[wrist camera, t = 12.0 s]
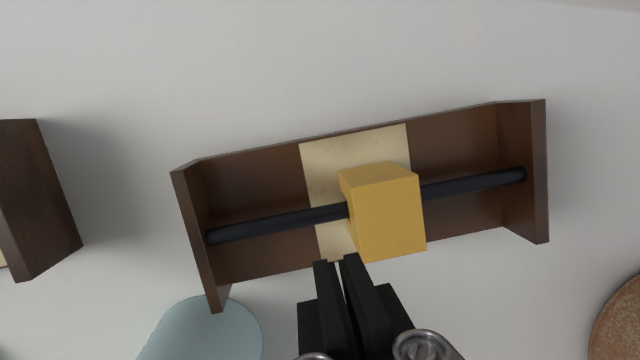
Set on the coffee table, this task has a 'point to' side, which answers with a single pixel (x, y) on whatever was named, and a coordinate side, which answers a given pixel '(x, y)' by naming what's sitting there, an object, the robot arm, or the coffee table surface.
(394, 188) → the block
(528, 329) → the coffee table surface
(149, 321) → the coffee table surface
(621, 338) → the planter
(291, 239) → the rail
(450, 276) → the coffee table surface
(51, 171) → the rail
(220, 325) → the mug
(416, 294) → the coffee table surface
